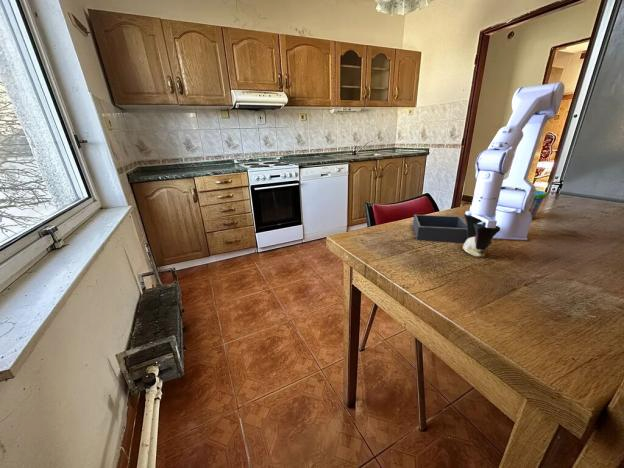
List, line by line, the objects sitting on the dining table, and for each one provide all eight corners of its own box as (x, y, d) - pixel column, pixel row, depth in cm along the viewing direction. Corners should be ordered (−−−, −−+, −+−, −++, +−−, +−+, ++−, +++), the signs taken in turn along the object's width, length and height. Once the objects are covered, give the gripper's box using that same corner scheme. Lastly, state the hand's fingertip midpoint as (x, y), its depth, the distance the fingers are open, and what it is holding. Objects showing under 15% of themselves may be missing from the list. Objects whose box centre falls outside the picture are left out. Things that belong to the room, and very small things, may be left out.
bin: (458, 228, 93) (460, 216, 91) (469, 243, 81) (472, 229, 79) (412, 226, 97) (414, 214, 95) (416, 239, 85) (418, 226, 83)
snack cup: (509, 210, 111) (515, 186, 107) (541, 214, 104) (549, 189, 100) (501, 218, 101) (507, 193, 97) (535, 224, 94) (543, 197, 90)
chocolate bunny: (465, 255, 72) (474, 222, 68) (461, 245, 79) (469, 214, 75) (488, 259, 70) (499, 225, 67) (481, 248, 77) (491, 217, 73)
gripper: (462, 190, 76) (454, 233, 81) (478, 203, 63) (467, 253, 68) (489, 191, 74) (479, 235, 79) (511, 204, 61) (498, 255, 66)
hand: (475, 243), depth 73 cm, fingers closed on chocolate bunny, 7 cm apart
